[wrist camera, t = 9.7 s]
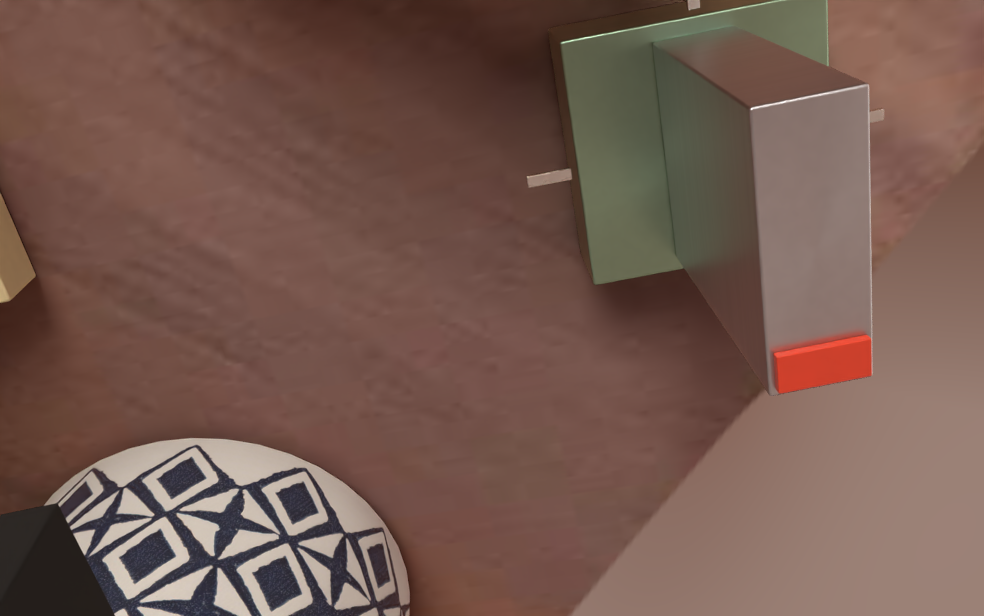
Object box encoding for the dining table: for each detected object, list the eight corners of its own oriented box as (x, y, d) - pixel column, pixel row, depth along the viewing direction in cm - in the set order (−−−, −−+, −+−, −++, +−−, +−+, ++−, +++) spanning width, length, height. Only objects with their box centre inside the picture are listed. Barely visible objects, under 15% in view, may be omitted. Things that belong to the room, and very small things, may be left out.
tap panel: (543, 301, 33) (553, 339, 30) (489, -15, 28) (496, -4, 26) (843, 245, 33) (882, 278, 30) (839, -83, 28) (886, -80, 25)
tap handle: (651, 42, 26) (753, 110, 18) (735, 24, 26) (876, 85, 18) (676, 257, 29) (773, 403, 21) (751, 243, 29) (879, 382, 21)
